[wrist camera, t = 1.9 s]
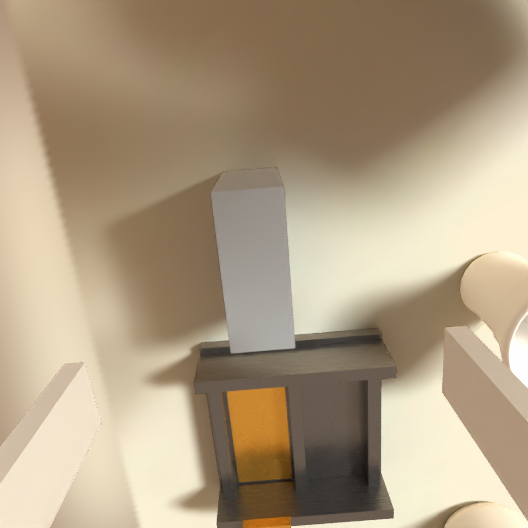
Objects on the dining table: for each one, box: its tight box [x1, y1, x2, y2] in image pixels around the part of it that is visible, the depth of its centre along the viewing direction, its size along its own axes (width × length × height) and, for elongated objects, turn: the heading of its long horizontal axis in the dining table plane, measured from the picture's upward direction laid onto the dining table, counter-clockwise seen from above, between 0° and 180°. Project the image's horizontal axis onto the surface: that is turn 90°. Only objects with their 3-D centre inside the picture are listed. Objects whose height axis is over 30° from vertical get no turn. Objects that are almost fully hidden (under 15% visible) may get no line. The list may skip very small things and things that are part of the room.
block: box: [211, 167, 295, 353], centre depth 29 cm, size 10×4×9 cm, turn 5°
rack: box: [194, 328, 396, 528], centre depth 36 cm, size 16×15×6 cm
